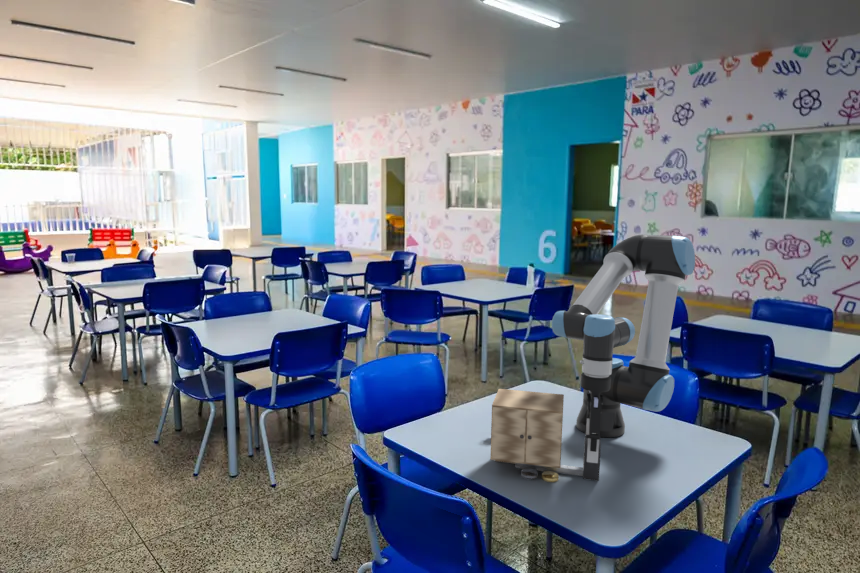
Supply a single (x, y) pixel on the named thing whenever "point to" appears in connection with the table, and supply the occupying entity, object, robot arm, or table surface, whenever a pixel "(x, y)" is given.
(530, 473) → the steel disc
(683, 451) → the table surface
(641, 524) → the table surface
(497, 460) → the cabinet
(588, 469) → the grey mallet
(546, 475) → the brass disc
